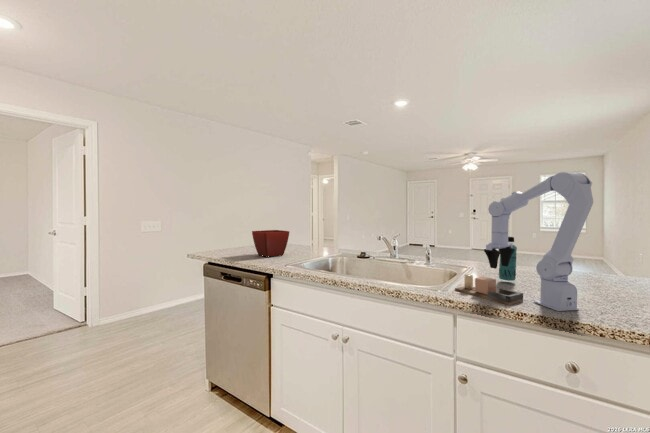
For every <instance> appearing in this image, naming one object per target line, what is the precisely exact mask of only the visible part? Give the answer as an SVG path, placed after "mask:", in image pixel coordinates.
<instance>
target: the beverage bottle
mask: <svg viewBox="0 0 650 433" xmlns="http://www.w3.org/2000/svg"><path fill="white" fill-rule="evenodd" d="M508 242H510V243H515V237H513V236H508ZM512 248H514V249H515V251H514V252H513V254H512V256H511V258H510V261H509V265H508V266H502V264H501V255H499V263H498V264H499V265H498V266H499V267H498V278H499V280H502V281H511V282H513V281H515V280H516V279H517V278H516V277H517V271H516V270H517V252H518V251H517V249H518V248H517V246H516V245H515V244H513V247H512Z"/></svg>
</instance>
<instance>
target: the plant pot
mask: <svg viewBox="0 0 650 433" xmlns="http://www.w3.org/2000/svg"><path fill="white" fill-rule="evenodd" d="M251 233H252V239H253V244H254V248H255V251H256V254H257V256H259V255H263V256H267V257H266V258H269V257H268V256H275V257H280V256H279V255H283V256H284V254H285V251H286V248H287V245H288V240H289V236H290V231H289V230H282V229H281V230H279V229H269V230H252V231H251ZM263 256H262V257H263Z"/></svg>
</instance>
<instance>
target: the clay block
mask: <svg viewBox="0 0 650 433" xmlns="http://www.w3.org/2000/svg"><path fill="white" fill-rule="evenodd" d="M463 283H464V285H463V286H464V288H467V289H475V292H479V293H483V294H487V295H488V291H492V292H497V279H496V278H492V277H485V276H480V277H476V278H475V279H474V275H473V274H470V273H469V274H467V273H466V274H464V282H463Z"/></svg>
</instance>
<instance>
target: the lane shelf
mask: <svg viewBox="0 0 650 433" xmlns="http://www.w3.org/2000/svg"><path fill="white" fill-rule="evenodd" d="M498 290H499V292H497V291H496V292H492V291H488V295H487V294H483V293H479V292H475V289H467V288H464V285H463V286H458V287H455V288H454V291H456V292H460V293H464V294H468V295H470V296H475V297H479V298H483V299H486V300H489V301H493V302H495V303H496V302H497V303H500V304H504V305H507V306H510V305H511V306H512V305H515V304H518V303H522V302H523V301H524V293H523V292H518V291H515V290H511V289H510V290H509V289H506V288H502V287H501V288H499V289H498Z"/></svg>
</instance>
